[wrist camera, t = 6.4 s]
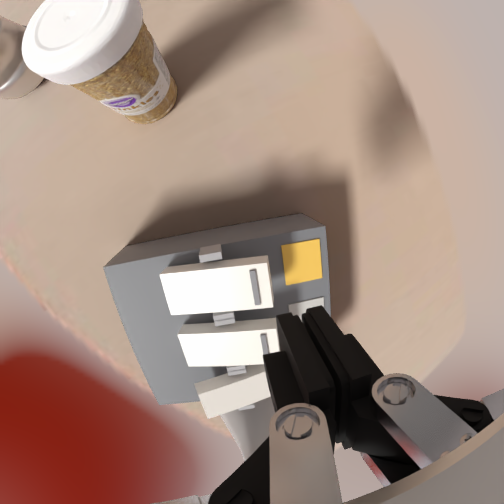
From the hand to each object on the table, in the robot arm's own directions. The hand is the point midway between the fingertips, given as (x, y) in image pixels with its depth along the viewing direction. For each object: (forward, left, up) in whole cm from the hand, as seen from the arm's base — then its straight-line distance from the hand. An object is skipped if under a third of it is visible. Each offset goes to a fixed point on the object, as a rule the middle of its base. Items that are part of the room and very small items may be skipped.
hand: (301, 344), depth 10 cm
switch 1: (0, -3, -7) cm, 7 cm away
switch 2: (+4, -3, -7) cm, 8 cm away
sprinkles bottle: (-13, -6, -13) cm, 20 cm away
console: (+4, -3, -13) cm, 14 cm away
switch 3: (+8, -3, -7) cm, 11 cm away
